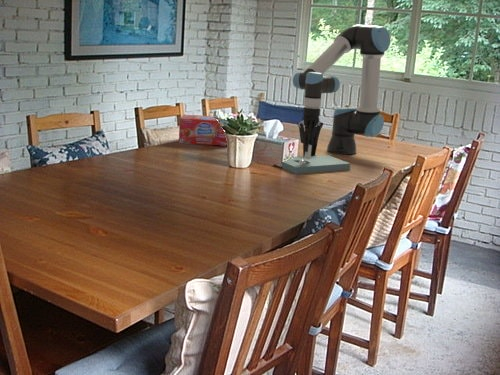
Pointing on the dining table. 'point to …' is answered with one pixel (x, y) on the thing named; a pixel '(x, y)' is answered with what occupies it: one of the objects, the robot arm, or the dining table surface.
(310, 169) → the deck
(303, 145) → the cup
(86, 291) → the dining table surface
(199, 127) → the box
